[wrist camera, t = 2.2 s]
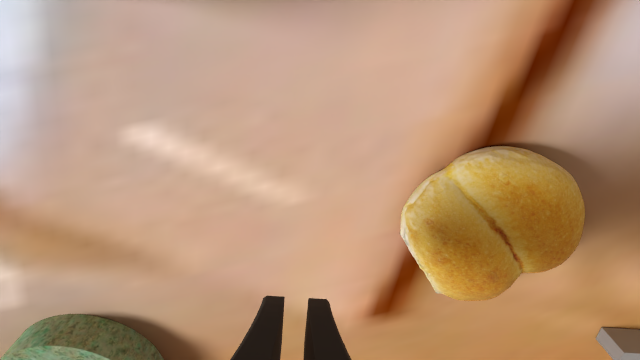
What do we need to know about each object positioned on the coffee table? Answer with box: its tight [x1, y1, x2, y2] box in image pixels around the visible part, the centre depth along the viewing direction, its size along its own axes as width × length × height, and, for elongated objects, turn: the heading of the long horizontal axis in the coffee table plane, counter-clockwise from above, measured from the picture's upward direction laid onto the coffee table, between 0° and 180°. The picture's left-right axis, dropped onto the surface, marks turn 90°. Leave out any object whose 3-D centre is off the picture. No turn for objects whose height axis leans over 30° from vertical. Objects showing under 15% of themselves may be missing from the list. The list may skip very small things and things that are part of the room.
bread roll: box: [400, 146, 585, 301], centre depth 20 cm, size 8×9×4 cm
